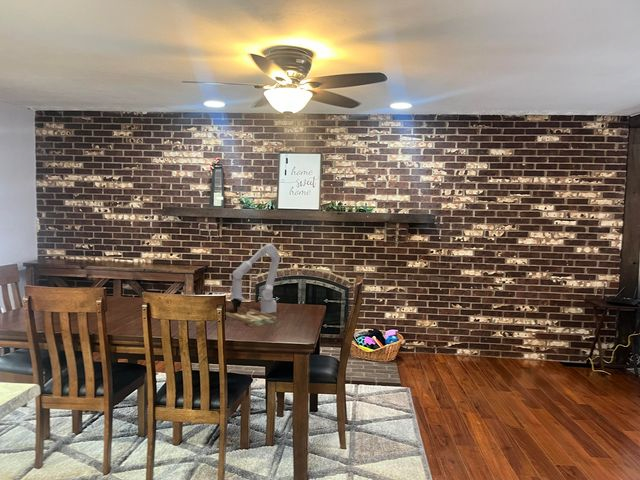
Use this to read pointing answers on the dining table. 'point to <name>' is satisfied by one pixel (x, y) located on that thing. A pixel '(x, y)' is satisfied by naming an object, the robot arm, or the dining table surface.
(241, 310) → the walnut block
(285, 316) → the dining table surface
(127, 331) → the dining table surface
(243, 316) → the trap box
